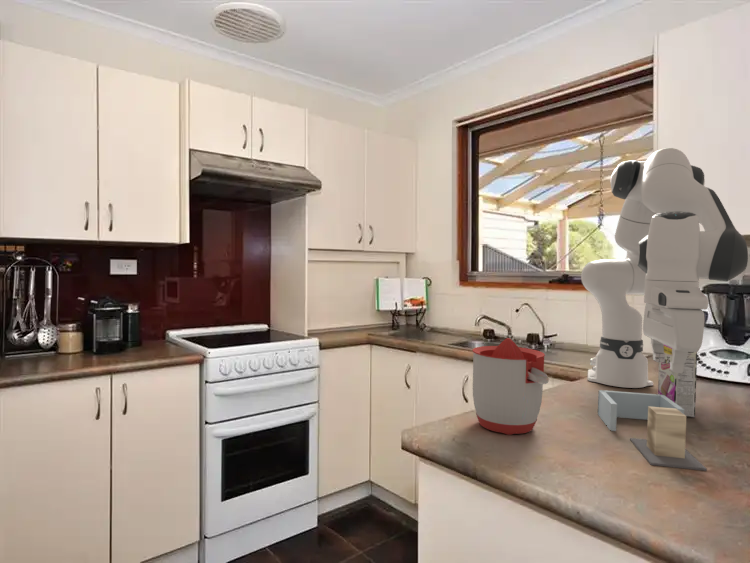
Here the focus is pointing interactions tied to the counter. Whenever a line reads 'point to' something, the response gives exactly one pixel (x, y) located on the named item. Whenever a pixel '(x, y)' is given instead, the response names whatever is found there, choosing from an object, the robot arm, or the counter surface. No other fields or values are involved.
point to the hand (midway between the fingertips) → (667, 366)
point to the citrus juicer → (508, 387)
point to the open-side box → (629, 405)
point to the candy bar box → (679, 382)
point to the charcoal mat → (686, 462)
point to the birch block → (666, 432)
